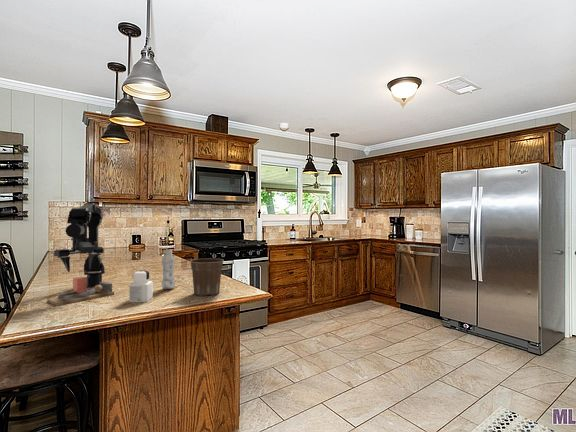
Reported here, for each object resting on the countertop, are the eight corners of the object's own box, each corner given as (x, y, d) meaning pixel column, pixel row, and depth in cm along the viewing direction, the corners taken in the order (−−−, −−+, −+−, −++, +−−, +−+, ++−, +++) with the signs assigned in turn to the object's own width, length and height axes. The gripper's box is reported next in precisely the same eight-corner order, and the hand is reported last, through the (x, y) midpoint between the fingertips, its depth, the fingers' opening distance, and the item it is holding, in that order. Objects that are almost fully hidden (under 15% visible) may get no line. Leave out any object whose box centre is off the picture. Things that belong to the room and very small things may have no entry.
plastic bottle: (177, 288, 175) (177, 249, 174) (169, 291, 168) (169, 251, 168) (167, 287, 177) (167, 249, 176) (158, 290, 170) (158, 250, 170)
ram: (91, 292, 159) (91, 275, 158) (95, 293, 156) (95, 276, 156) (73, 295, 152) (73, 277, 152) (77, 296, 150) (77, 278, 150)
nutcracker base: (103, 291, 166) (103, 281, 166) (114, 294, 160) (114, 283, 160) (47, 302, 146) (47, 290, 146) (57, 306, 141) (57, 293, 141)
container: (135, 297, 155) (135, 269, 155) (152, 297, 156) (153, 269, 155) (129, 302, 147) (129, 272, 147) (147, 302, 148) (147, 272, 148)
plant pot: (199, 288, 175) (199, 257, 174) (228, 290, 171) (228, 258, 171) (183, 296, 159) (183, 261, 158) (215, 298, 155) (215, 263, 155)
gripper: (65, 238, 140) (65, 275, 140) (110, 235, 155) (109, 269, 155) (53, 236, 146) (53, 272, 146) (97, 234, 162) (97, 267, 162)
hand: (79, 270), depth 152 cm, fingers open, 9 cm apart
